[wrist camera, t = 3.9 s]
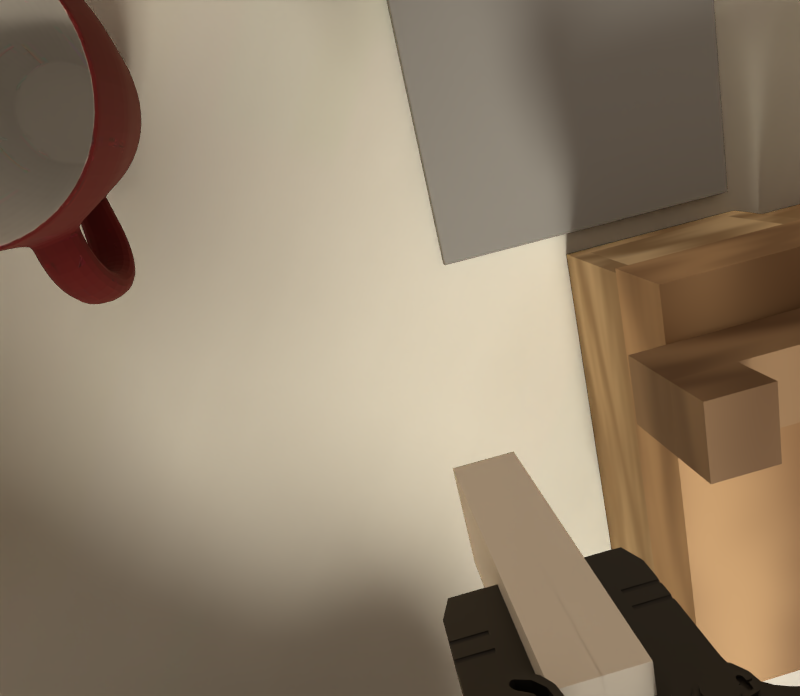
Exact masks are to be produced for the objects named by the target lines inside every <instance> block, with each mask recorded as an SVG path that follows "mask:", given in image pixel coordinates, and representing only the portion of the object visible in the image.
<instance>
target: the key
mask: <svg viewBox="0 0 800 696" xmlns="http://www.w3.org/2000/svg"><path fill="white" fill-rule="evenodd" d="M628 360H629V367H630V375H631V383H632V390H633V398H634V406H635V414H636V421H637V425H639V426H640V427H641V428H642V429H644V430H645V431H646V432H647V433H649V434H650V435H651V436H652V437H653V438H655V439H656V440H657V441H658V442H660V443H661V444H662V445H663V446H664V447H666V448H667V449H668V450H669V451H671V452H672V453H673V454H674V455H676V456H677V457H678V458H679V459H680V460H682V461H683V462H684V463H685V464H687V465H688V466H689V467H690V468H691V469H693V470H694V471H695V472H696V473H698V474H699V475H700V476H701V477H703V478H704V479H705V480H706V481H707V482H709V483H710V484H714V483H717V482H721V481H724V480H728V479H731V478H735V477H738V476H742V475H745V474H749V473H752V472H756V471H759V470H762V469H766V468H769V467H773V466H776V465H780V464H782V454H781V435H780V428H782V427H785V426H789V425H792V424H796V423H799V422H800V308H798V309H795V310H791V311H787V312H784V313H780V314H776V315H773V316H769V317H766V318H762V319H758V320H755V321H751V322H747V323H744V324H740V325H736V326H733V327H729V328H725V329H722V330H718V331H714V332H711V333H707V334H703V335H700V336H696V337H692V338H689V339H685V340H681V341H678V342H674V343H671V344H667V345H663V346H660V347H656V348H652V349H649V350H645V351H641V352H638V353H634V354H630V355H628Z"/></svg>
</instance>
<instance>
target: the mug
mask: <svg viewBox="0 0 800 696" xmlns="http://www.w3.org/2000/svg"><path fill="white" fill-rule="evenodd" d="M140 133H141V110H140V103H139V98H138V94H137V91H136V88H135V85H134V82H133V79H132V77H131V75H130V72H129V70H128V68H127V66H126V65H125V63H124V61H123V59H122V57H121V56H120V54H119V52H118V51H117V49H116V47H115V45H114V44H113V42H112V40H111V38H110V37H109V35H108V34H107V32H106V30H105V29H104V27H103V26H102V24H101V23H100V21H99V20H98V18H97V17H96V15H95V14H94V13H93V12H92V10H91V9H90V8H89V6H88V5H87V4H86V3H85V1H84V0H0V251H2V250H7V249H12V248H18V247H30V248H31V249H32V250H33V251H34V253H35V255H36V257H37V258H38V260H39V262H40V264H41V265H42V267H43V268H44V270H45V271H46V272H47V274H48V275H49V277H50V278H51V279H52V280H53V281H54V283H55V284H56V285H57V286H59V287H60V288H61V289H62V290H63V291H64V292H66V293H67V294H68V295H70V296H72V297H74V298H76V299H78V300H80V301H82V302H84V303H88V304H101V303H106V302H110V301H113V300H115V299H117V298H119V297H121V296H122V295H123V294H125V293H126V292H127V291H128V290H129V289H130V287H131V286H132V283H133V280H134V276H135V264H134V258H133V254H132V251H131V248H130V245H129V242H128V240H127V237H126V235H125V233H124V231H123V229H122V227H121V225H120V223H119V221H118V219H117V217H116V215H115V213H114V211H113V209H112V208H111V206H110V204H109V202H108V200H107V198H106V195H107V194H108V193H109V191H110V190H111V189H112V188H113V187H114V186H115V185H116V184H117V183H118V182H119V180H120V179H121V178H122V177H123V175H124V174H125V172H126V171H127V169H128V168H129V166H130V164H131V162H132V160H133V158H134V156H135V153H136V151H137V147H138V143H139V139H140ZM80 224H81V225H82V228H83V231H84V234H85V237H86V240H87V242H86V240H85V238H84V236H83V235H82V232H81V230H80ZM87 243H88V244H87Z"/></svg>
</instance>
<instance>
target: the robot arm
mask: <svg viewBox="0 0 800 696" xmlns="http://www.w3.org/2000/svg"><path fill="white" fill-rule="evenodd" d="M453 471H454V475H455V480H456V484H457V488H458V493H459V497H460V501H461V505H462V510H463V514H464V518H465V523H466V527H467V531H468V535H469V540H470V544H471V548H472V553H473V557H474V561H475V564H476V567H477V569H478V572H479V574H480V577H481V580H482V582H483V585H484V587H485V588H483V589H479V590H476V591H472V592H469V593H465V594H462V595H458V596H455V597H451V598H448V601H447V606H446V610H445V614H444V618H443V622H444V626H445V629H446V633H447V637H448V641H449V645H450V649H451V652H452V656H453V660H454V664H455V668H456V671H457V675H458V679H459V683H460V686H461V690H462V694H463V696H800V686H781V685H773V684H769V683H765V682H761V681H760V680H759V679H758V678H756V677H755V676H754V675H753V674H752V673H751V672H750V671H748V670H746V669H743V668H741V667H739V666H737V665H735V664H733V663H729V662H726V661H725V660H724V659H723V658H722V657H721V656H720V654H719V653H718V652H717V651H716V649H715V648H714V647H713V646H712V644H711V643H710V642H709V641H708V639H707V638H706V637H705V636H704V634H703V633H702V632H701V631H700V630H699V628H698V627H697V626H696V625H695V623H694V622H693V621H692V620H691V618H690V617H689V616H688V615H687V613H686V612H685V611H684V610H683V608H682V607H681V606H680V605H679V603H678V602H677V601H676V600H675V599H674V598H672V596H671V594H670V592H669V591H668V590H667V589H666V587H665V586H664V585H663V584H662V583H660V581H659V579H658V577H657V576H656V575H655V574H654V572H653V571H652V570H651V569H650V567H649V566H648V565H647V564H646V563H645V561H644V560H642V559H641V558H639V557H637V556H635V555H634V554H632V553H630V552H628V551H627V550H625V549H623V548H621V547H619V548H616V549H612V550H609V551H605V552H602V553H598V554H595V555H591V556H588V557H583V555H582V554H581V552H580V551H579V549H578V548H577V546H576V545H575V543H574V542H573V540H572V539H571V537H570V536H569V534H568V533H567V531H566V530H565V528H564V527H563V525H562V524H561V522H560V521H559V519H558V518H557V516H556V515H555V513H554V512H553V510H552V509H551V507H550V506H549V504H548V503H547V501H546V500H545V498H544V497H543V495H542V494H541V492H540V491H539V489H538V488H537V486H536V485H535V483H534V482H533V480H532V479H531V477H530V476H529V474H528V473H527V471H526V470H525V468H524V467H523V465H522V464H521V462H520V461H519V459H518V458H517V456H516V455H515V453H514V452H510V453H507V454H503V455H500V456H496V457H492V458H489V459H485V460H481V461H478V462H474V463H471V464H467V465H463V466H460V467H456V468H453Z"/></svg>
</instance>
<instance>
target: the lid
mask: <svg viewBox="0 0 800 696" xmlns="http://www.w3.org/2000/svg"><path fill="white" fill-rule="evenodd" d="M615 270H616V278H617V286H618V293H619V301H620V309H621V316H622V324H623V332H624V340H625V347H626V355H627V363H628V370H629V378H630V386H631V393H632V401H633V409H634V416H635V424H636V432H637V439H638V447H639V455H640V462H641V470H642V478H643V485H644V493H645V501H646V508H647V516H648V524H649V531H650V539H651V547H652V555H653V562H654V570H655V575H656V576H657V577H658V579H659V581H660V583H662V584H663V585H664V586H665V587H666V589H667V590H668V591H669V592H670V594H671V596H672V598H674V599H675V600H676V601H677V602H678V603H679V605H680V606H681V607H682V608H683V610H684V611H685V612H686V613H687V615H688V616H689V617H690V618H691V620H692V621H693V622H694V623H695V625H696V626H697V627H698V628H699V630H700V631H701V632H702V633H703V634H704V636H705V637H706V638H707V639H708V641H709V642H710V643H711V644H712V646H713V647H714V648H715V649H716V651H717V652H718V653H719V654H720V656H721V657H722V658H723V659H724V660H725V661H726V662H729V663H733V664H735V665H737V666H739V667H741V668H743V669H746V670H748V671H750V672H751V673H752V674H753V675H754V676H755V677H756V678H758V679H759V680H760V681H761V682H762V681H765V680H768V679H772V678H775V677H778V676H781V675H785V674H788V673H791V672H794V671H798V670H800V422H799V423H796V424H792V425H789V426H785V427H782V428H780V435H781V454H782V464H780V465H776V466H773V467H769V468H766V469H762V470H759V471H756V472H752V473H749V474H745V475H742V476H738V477H735V478H731V479H728V480H724V481H721V482H717V483H714V484H710V483H709V482H707V481H706V480H705V479H704V478H703V477H701V476H700V475H699V474H698V473H696V472H695V471H694V470H693V469H691V468H690V467H689V466H688V465H687V464H685V463H684V462H683V461H682V460H680V459H679V458H678V457H677V456H676V455H674V454H673V453H672V452H671V451H669V450H668V449H667V448H666V447H664V446H663V445H662V444H661V443H660V442H658V441H657V440H656V439H655V438H653V437H652V436H651V435H650V434H649V433H647V432H646V431H645V430H644V429H642V428H641V427H640V426H639V425H637V421H636V414H635V406H634V398H633V390H632V383H631V375H630V367H629V360H628V355H630V354H634V353H638V352H641V351H645V350H649V349H652V348H656V347H660V346H663V345H667V344H671V343H674V342H678V341H681V340H685V339H689V338H692V337H696V336H700V335H703V334H707V333H711V332H714V331H718V330H722V329H725V328H729V327H733V326H736V325H740V324H744V323H747V322H751V321H755V320H758V319H762V318H766V317H769V316H773V315H776V314H780V313H784V312H787V311H791V310H795V309H798V308H800V220H797V221H793V222H789V223H785V224H781V225H778V226H774V227H770V228H766V229H763V230H759V231H755V232H751V233H747V234H744V235H740V236H736V237H732V238H729V239H725V240H721V241H717V242H714V243H710V244H706V245H702V246H698V247H695V248H691V249H687V250H683V251H680V252H676V253H672V254H668V255H664V256H661V257H657V258H653V259H649V260H646V261H642V262H638V263H634V264H631V265H627V266H623V267H619V268H615Z"/></svg>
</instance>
